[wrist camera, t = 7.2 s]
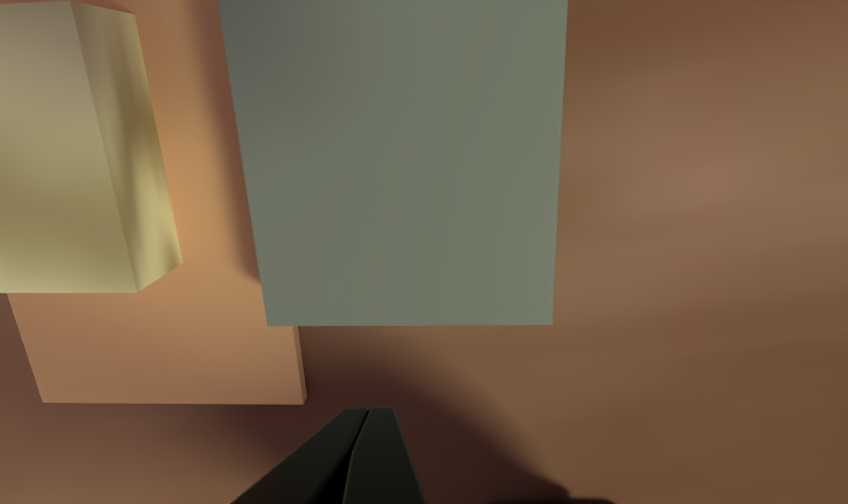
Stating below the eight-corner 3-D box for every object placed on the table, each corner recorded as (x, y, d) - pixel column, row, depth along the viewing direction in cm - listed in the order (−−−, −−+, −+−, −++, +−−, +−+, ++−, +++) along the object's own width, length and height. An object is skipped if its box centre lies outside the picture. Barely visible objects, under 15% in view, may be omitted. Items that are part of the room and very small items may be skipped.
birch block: (-1, 293, 17) (63, 263, 20) (137, 292, 17) (182, 262, 20) (-93, 7, 15) (-3, 20, 17) (70, 0, 14) (134, 14, 17)
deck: (538, 290, 20) (552, 324, 17) (293, 292, 21) (267, 326, 18) (551, -53, 16) (571, -83, 13) (250, -36, 17) (208, -59, 14)
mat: (307, 396, 22) (303, 404, 22) (53, 395, 23) (42, 402, 23) (225, -221, 15) (217, -232, 15) (-134, -189, 16) (-155, -199, 16)
